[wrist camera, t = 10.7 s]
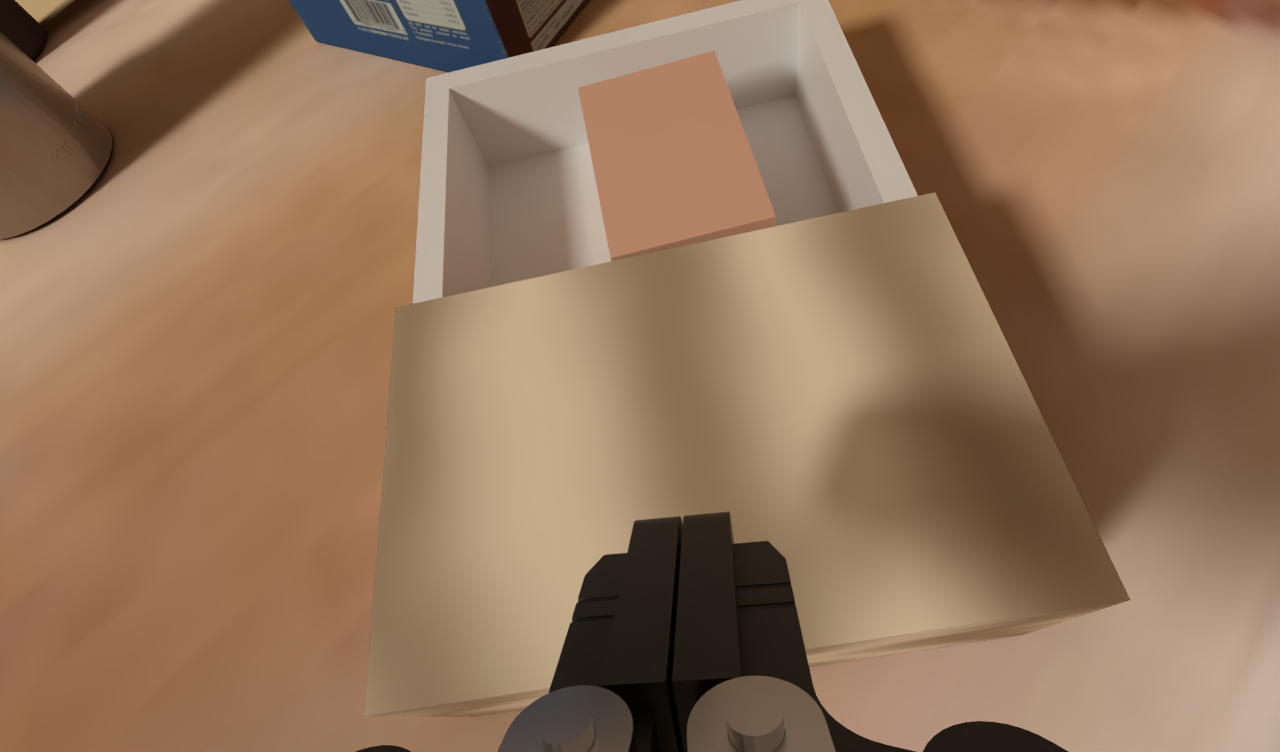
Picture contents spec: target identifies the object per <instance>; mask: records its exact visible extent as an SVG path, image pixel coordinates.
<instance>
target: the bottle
mask: <svg viewBox="0 0 1280 752" xmlns="http://www.w3.org/2000/svg"><path fill="white" fill-rule="evenodd" d="M0 32H1V33H2V34H3V35H4V36H6V37H7V38H8V39H9V40H10V41H11V42H12V43H13V44H14V45H16V46H17V47H18V48H19V49H20V50H21V51H22V52H23V53H25V54H26V55H27V56H28V57H29V58H30V59H31V60H32V61H33V60H34V59H35V58H36V56H37V55H38V54H39V53H40V51H41V50H42V48H43V46H44V44H45V42H46V36H45V30H44V28H43V27H42V26H41V25H40V24H39V23H38V22H37V21H36V20H35V19H34V18H33V17H32V16H31V15H29V14H28V13H27V12H26V11H25V10H24V9H23V8H22V7H21V6H20V5H19V4H18V3H17V2H16V1H15V0H0Z"/></svg>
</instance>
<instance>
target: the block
mask: <svg viewBox="0 0 1280 752" xmlns="http://www.w3.org/2000/svg"><path fill="white" fill-rule="evenodd" d="M578 90H579V95H580V101H581V106H582V111H583V116H584V122H585V127H586V132H587V138H588V143H589V148H590V153H591V159H592V164H593V169H594V174H595V180H596V185H597V190H598V195H599V201H600V206H601V211H602V216H603V222H604V227H605V232H606V237H607V243H608V248H609V253H610V258H611V261H616V260H620V259H625V258H630V257H634V256H639V255H644V254H648V253H653V252H658V251H662V250H667V249H672V248H676V247H681V246H686V245H691V244H695V243H700V242H705V241H709V240H714V239H719V238H723V237H728V236H733V235H737V234H742V233H747V232H751V231H756V230H761V229H765V228H770V227H775V226H776V215H775V213H774V210H773V207H772V204H771V202H770V199H769V196H768V194H767V191H766V188H765V186H764V183H763V180H762V178H761V175H760V172H759V169H758V167H757V164H756V161H755V159H754V156H753V153H752V151H751V148H750V145H749V142H748V140H747V137H746V134H745V132H744V129H743V126H742V124H741V121H740V118H739V115H738V113H737V110H736V107H735V105H734V102H733V99H732V97H731V94H730V91H729V88H728V86H727V83H726V80H725V78H724V75H723V72H722V70H721V67H720V64H719V62H718V59H717V56H716V53H715V51H710V52H707V53H703V54H699V55H696V56H692V57H688V58H685V59H681V60H677V61H674V62H670V63H666V64H663V65H659V66H655V67H652V68H648V69H644V70H641V71H637V72H633V73H630V74H626V75H622V76H619V77H615V78H611V79H608V80H604V81H600V82H596V83H593V84H589V85H585V86H582V87H578Z"/></svg>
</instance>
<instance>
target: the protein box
mask: <svg viewBox="0 0 1280 752" xmlns="http://www.w3.org/2000/svg"><path fill="white" fill-rule="evenodd" d="M587 1H588V0H289V2H290V3H291V5H292V6H293V8H294V9H295V11H296V12H297V14H298V15H299V17H300V18H301V20H302V21H303V23H304V24H305V26H306V27H307V29H308V30H309V32H310V33H311V35H312V36H313V38H314V39H315V40H316V41H317V42H320V43H324V44H328V45H333V46H337V47H341V48H346V49H350V50H355V51H359V52H364V53H368V54H372V55H376V56H381V57H385V58H389V59H393V60H398V61H402V62H406V63H411V64H415V65H419V66H424V67H428V68H432V69H436V70H441V71H445V72H453V71H457V70H461V69H465V68H469V67H473V66H477V65H481V64H485V63H490V62H494V61H498V60H502V59H506V58H510V57H514V56H518V55H522V54H526V53H530V52H534V51H538V50H542V49H546V48H550V47H552V45H553V44H554V43H555V41H556V40H557V39H558V38H559V37H560V35H561V34H562V33H563V31H564V30H565V29H566V28H567V26H568V25H569V24H570V23H571V21H572V20H573V19H574V18H575V16H576V15H577V14H578V13H579V11H580V10H581V9H582V8H583V6H584V5H585V4H586V2H587Z"/></svg>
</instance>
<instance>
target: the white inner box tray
mask: <svg viewBox="0 0 1280 752" xmlns="http://www.w3.org/2000/svg"><path fill="white" fill-rule="evenodd" d="M710 51H715V53H716V56H717V59H718V62H719V64H720V67H721V70H722V72H723V75H724V78H725V80H726V83H727V86H728V88H729V91H730V94H731V97H732V99H733V102H734V105H735V107H736V110H737V113H738V115H739V118H740V121H741V124H742V126H743V129H744V132H745V134H746V137H747V140H748V142H749V145H750V148H751V151H752V153H753V156H754V159H755V161H756V164H757V167H758V169H759V172H760V175H761V178H762V180H763V183H764V186H765V188H766V191H767V194H768V196H769V199H770V202H771V204H772V207H773V210H774V213H775V215H776V226H780V225H784V224H789V223H794V222H798V221H803V220H808V219H812V218H817V217H822V216H826V215H831V214H836V213H840V212H845V211H850V210H854V209H859V208H864V207H869V206H873V205H878V204H883V203H887V202H892V201H897V200H901V199H906V198H911V197H915V196H918V195H917V193H916V191H915V188H914V186H913V184H912V182H911V180H910V177H909V175H908V173H907V171H906V169H905V167H904V164H903V162H902V160H901V158H900V156H899V154H898V151H897V149H896V147H895V145H894V143H893V140H892V138H891V136H890V134H889V132H888V130H887V127H886V125H885V123H884V121H883V119H882V116H881V114H880V112H879V110H878V108H877V106H876V103H875V101H874V99H873V97H872V95H871V92H870V90H869V88H868V86H867V84H866V82H865V79H864V77H863V75H862V73H861V71H860V68H859V66H858V64H857V62H856V60H855V58H854V55H853V53H852V51H851V49H850V47H849V44H848V42H847V40H846V38H845V36H844V34H843V31H842V29H841V27H840V25H839V23H838V20H837V18H836V16H835V14H834V12H833V10H832V7H831V5H830V3H829V1H828V0H740V1H736V2H732V3H728V4H724V5H720V6H716V7H712V8H708V9H704V10H700V11H696V12H692V13H688V14H684V15H680V16H676V17H672V18H667V19H663V20H659V21H655V22H651V23H647V24H643V25H639V26H635V27H631V28H627V29H623V30H619V31H615V32H611V33H607V34H603V35H599V36H595V37H591V38H587V39H583V40H579V41H574V42H570V43H566V44H562V45H558V46H554V47H550V48H546V49H542V50H538V51H534V52H530V53H526V54H522V55H518V56H514V57H510V58H506V59H502V60H498V61H494V62H490V63H485V64H481V65H477V66H473V67H469V68H465V69H461V70H457V71H453V72H449V73H445V74H441V75H437V76H433V77H429V78H426V92H425V109H424V125H423V142H422V159H421V175H420V192H419V208H418V225H417V242H416V258H415V275H414V291H413V304H414V303H419V302H423V301H428V300H433V299H438V298H442V297H447V296H452V295H456V294H461V293H466V292H470V291H475V290H480V289H484V288H489V287H494V286H498V285H503V284H508V283H512V282H517V281H522V280H527V279H531V278H536V277H541V276H545V275H550V274H555V273H559V272H564V271H569V270H573V269H578V268H583V267H587V266H592V265H597V264H601V263H606V262H611V258H610V253H609V248H608V243H607V237H606V232H605V227H604V222H603V216H602V211H601V206H600V201H599V195H598V190H597V185H596V180H595V174H594V169H593V164H592V159H591V153H590V148H589V143H588V138H587V132H586V127H585V122H584V116H583V111H582V106H581V101H580V95H579V90H578V87H582V86H585V85H589V84H593V83H596V82H600V81H604V80H608V79H611V78H615V77H619V76H622V75H626V74H630V73H633V72H637V71H641V70H644V69H648V68H652V67H655V66H659V65H663V64H666V63H670V62H674V61H677V60H681V59H685V58H688V57H692V56H696V55H699V54H703V53H707V52H710Z"/></svg>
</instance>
